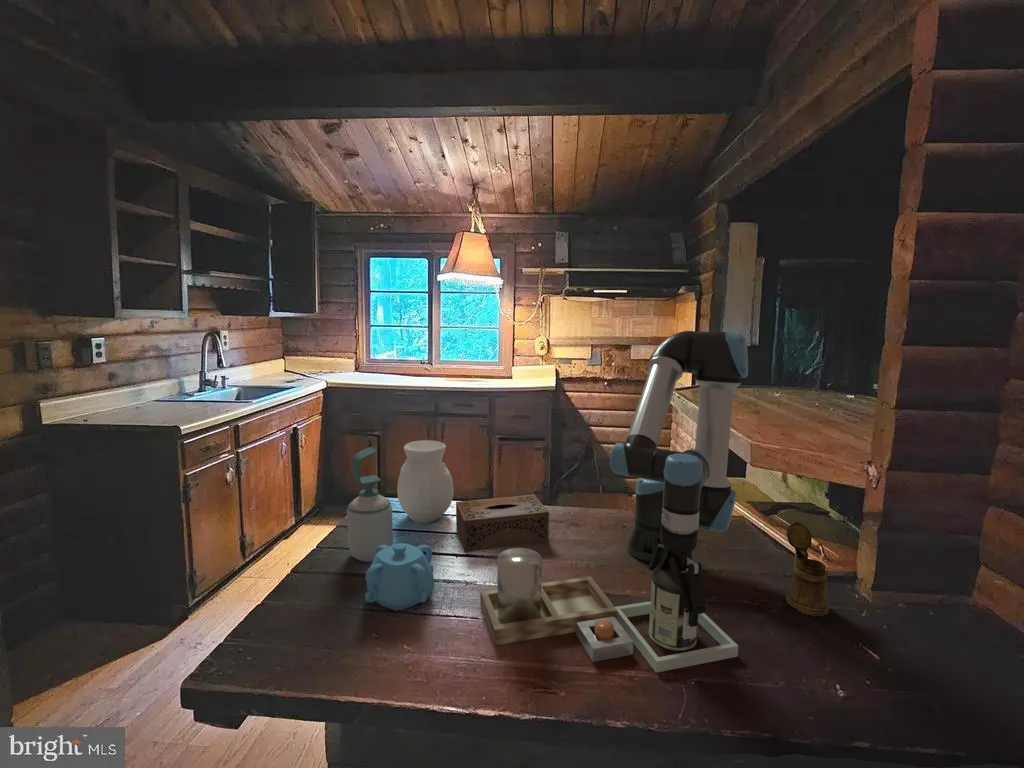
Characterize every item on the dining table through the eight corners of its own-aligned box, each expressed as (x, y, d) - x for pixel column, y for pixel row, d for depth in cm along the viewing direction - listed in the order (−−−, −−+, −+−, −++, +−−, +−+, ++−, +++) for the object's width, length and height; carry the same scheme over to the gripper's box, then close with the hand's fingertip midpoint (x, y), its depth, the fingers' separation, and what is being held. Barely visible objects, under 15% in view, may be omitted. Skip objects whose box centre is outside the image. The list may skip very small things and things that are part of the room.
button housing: (613, 628, 119) (613, 616, 118) (632, 654, 110) (633, 641, 110) (576, 634, 116) (576, 622, 116) (592, 662, 108) (593, 648, 107)
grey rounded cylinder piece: (533, 599, 128) (534, 545, 125) (546, 624, 118) (547, 566, 116) (492, 605, 125) (493, 550, 123) (503, 631, 116) (503, 572, 113)
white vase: (428, 534, 164) (427, 457, 160) (386, 520, 174) (383, 447, 170) (465, 513, 180) (464, 442, 176) (424, 502, 190) (422, 434, 185)
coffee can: (693, 624, 120) (697, 567, 118) (699, 654, 111) (704, 592, 108) (647, 618, 123) (650, 562, 120) (649, 647, 113) (652, 586, 110)
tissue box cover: (464, 553, 153) (464, 520, 152) (456, 531, 167) (456, 501, 165) (548, 542, 160) (548, 511, 158) (533, 523, 174) (534, 494, 172)
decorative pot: (441, 581, 138) (440, 532, 135) (425, 618, 122) (424, 564, 120) (380, 578, 139) (378, 529, 137) (357, 614, 123) (354, 560, 121)
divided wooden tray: (590, 589, 134) (590, 576, 134) (616, 625, 120) (617, 610, 119) (480, 605, 127) (480, 591, 126) (494, 645, 113) (494, 629, 112)
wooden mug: (806, 586, 137) (813, 520, 134) (836, 617, 124) (845, 546, 121) (771, 585, 137) (778, 520, 134) (797, 616, 124) (805, 545, 121)
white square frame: (685, 605, 128) (685, 595, 128) (737, 656, 110) (738, 645, 110) (613, 616, 123) (614, 607, 123) (655, 672, 105) (656, 661, 105)
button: (608, 635, 116) (608, 618, 115) (616, 646, 112) (617, 629, 111) (591, 638, 115) (591, 621, 114) (598, 649, 111) (599, 632, 110)
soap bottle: (400, 557, 150) (396, 451, 144) (356, 569, 143) (351, 459, 138) (384, 540, 160) (380, 441, 155) (343, 551, 153) (338, 447, 148)
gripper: (636, 507, 123) (631, 593, 126) (697, 555, 100) (689, 658, 104) (665, 504, 124) (659, 589, 128) (731, 551, 102) (722, 652, 106)
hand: (673, 620), depth 116 cm, fingers open, 11 cm apart
